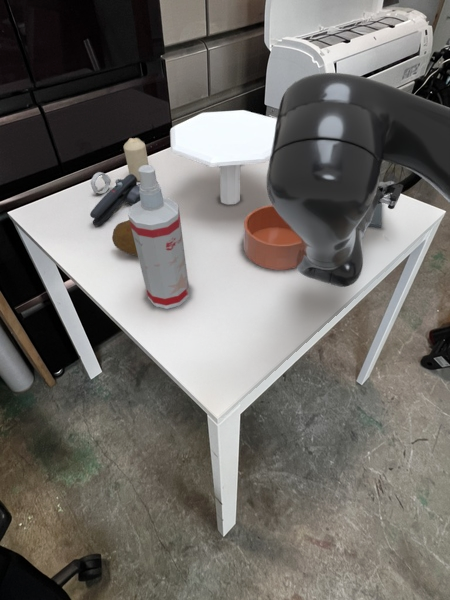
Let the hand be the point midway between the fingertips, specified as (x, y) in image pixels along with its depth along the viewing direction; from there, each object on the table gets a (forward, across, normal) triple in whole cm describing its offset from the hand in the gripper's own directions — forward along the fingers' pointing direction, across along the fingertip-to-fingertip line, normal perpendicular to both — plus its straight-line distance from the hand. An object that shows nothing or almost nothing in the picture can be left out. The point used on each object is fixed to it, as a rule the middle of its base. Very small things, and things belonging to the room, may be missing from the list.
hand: (370, 173), depth 81 cm
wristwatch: (-19, +62, +10) cm, 66 cm away
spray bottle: (-43, +26, +10) cm, 51 cm away
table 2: (-8, +30, +10) cm, 33 cm away
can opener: (-24, +53, +10) cm, 59 cm away
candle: (-8, +58, +10) cm, 59 cm away
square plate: (-1, 0, +10) cm, 10 cm away
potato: (-34, +38, +10) cm, 52 cm away
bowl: (-21, +13, +10) cm, 27 cm away
